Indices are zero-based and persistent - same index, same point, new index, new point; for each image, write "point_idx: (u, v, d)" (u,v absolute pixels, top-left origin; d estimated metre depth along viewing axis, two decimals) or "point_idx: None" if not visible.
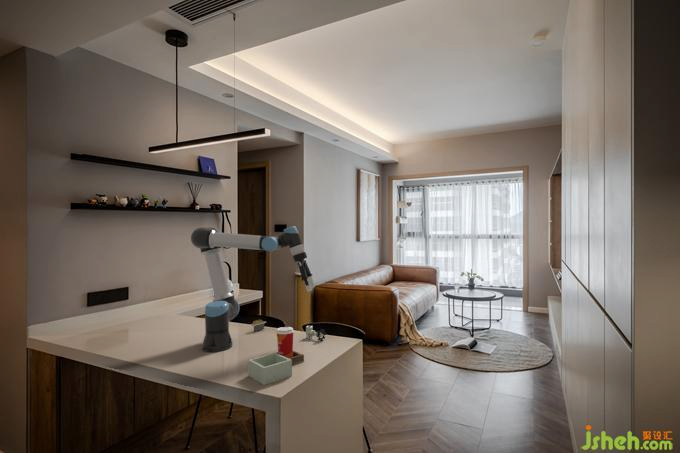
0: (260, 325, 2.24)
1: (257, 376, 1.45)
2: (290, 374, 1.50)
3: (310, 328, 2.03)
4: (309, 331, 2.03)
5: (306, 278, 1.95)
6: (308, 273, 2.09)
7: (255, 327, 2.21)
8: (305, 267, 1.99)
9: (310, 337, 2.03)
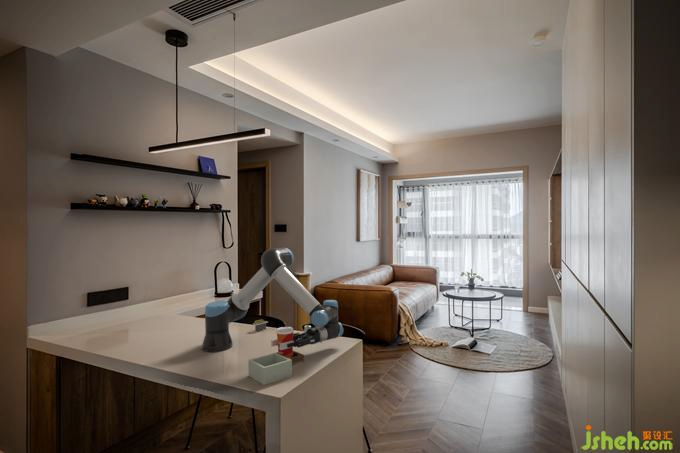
0: (262, 325, 2.25)
1: (257, 376, 1.45)
2: (290, 374, 1.50)
3: (308, 328, 2.04)
4: None
5: (295, 346, 1.65)
6: None
7: (257, 327, 2.22)
8: None
9: None
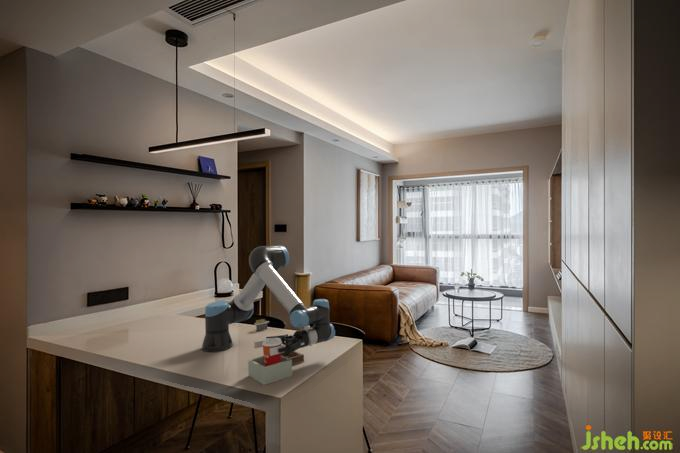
0: (263, 324, 2.25)
1: (257, 376, 1.45)
2: (290, 374, 1.50)
3: (307, 327, 2.05)
4: None
5: (287, 351, 1.47)
6: None
7: (258, 326, 2.22)
8: None
9: None
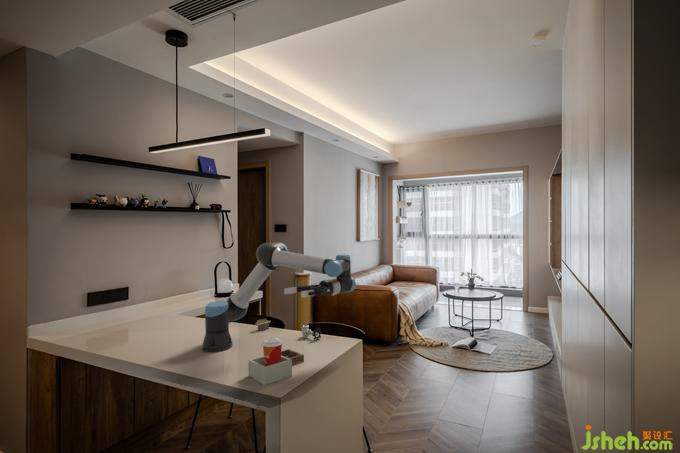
0: (264, 324, 2.26)
1: (257, 376, 1.45)
2: (290, 374, 1.50)
3: (306, 327, 2.05)
4: (305, 330, 2.05)
5: (316, 294, 1.62)
6: (300, 290, 1.74)
7: (259, 326, 2.23)
8: None
9: (306, 336, 2.05)
